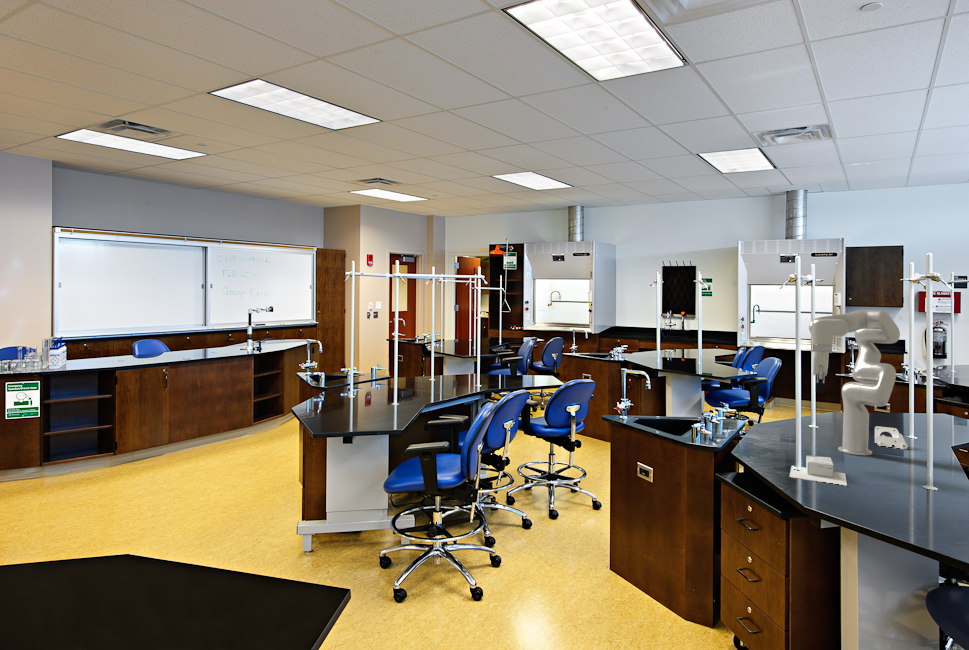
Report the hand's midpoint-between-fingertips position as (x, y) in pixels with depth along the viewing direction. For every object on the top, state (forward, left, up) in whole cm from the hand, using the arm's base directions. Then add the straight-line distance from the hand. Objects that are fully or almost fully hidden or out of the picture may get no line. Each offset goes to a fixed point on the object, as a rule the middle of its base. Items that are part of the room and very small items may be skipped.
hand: (820, 392), depth 225 cm
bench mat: (+25, 0, -29) cm, 38 cm away
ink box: (+14, 0, -26) cm, 30 cm away
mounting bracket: (-52, +29, -30) cm, 67 cm away
